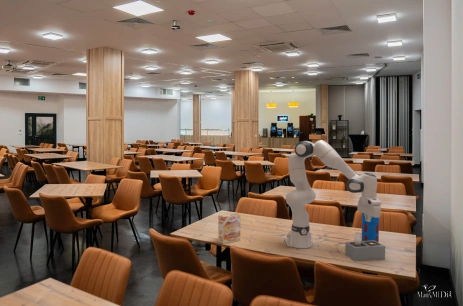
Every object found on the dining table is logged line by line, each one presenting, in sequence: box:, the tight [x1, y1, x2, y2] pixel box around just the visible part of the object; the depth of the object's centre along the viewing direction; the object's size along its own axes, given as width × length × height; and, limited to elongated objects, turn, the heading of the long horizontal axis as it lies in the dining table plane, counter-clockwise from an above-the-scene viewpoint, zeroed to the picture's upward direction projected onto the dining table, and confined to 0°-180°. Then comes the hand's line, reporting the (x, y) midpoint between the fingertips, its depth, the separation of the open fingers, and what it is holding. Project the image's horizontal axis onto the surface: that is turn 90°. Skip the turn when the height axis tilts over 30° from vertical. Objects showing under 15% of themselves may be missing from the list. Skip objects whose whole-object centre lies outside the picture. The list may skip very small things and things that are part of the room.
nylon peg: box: [353, 232, 362, 245], centre depth 230 cm, size 4×4×8 cm
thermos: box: [361, 212, 380, 243], centre depth 250 cm, size 11×11×25 cm
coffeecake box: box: [217, 212, 242, 245], centre depth 263 cm, size 15×7×20 cm, turn 126°
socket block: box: [344, 240, 386, 262], centre depth 232 cm, size 20×12×8 cm, turn 101°
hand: (367, 221), depth 231 cm, fingers closed
